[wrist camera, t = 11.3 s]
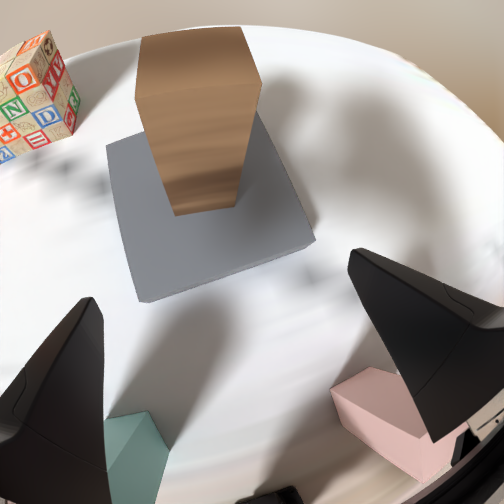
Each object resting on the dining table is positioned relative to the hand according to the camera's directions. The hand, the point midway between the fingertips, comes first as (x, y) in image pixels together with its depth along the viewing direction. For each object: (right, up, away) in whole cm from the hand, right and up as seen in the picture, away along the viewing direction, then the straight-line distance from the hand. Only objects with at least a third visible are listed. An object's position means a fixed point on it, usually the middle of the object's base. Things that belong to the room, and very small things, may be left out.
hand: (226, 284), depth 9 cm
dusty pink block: (+11, -13, +13) cm, 21 cm away
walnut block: (-3, +6, +12) cm, 14 cm away
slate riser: (-4, +6, +15) cm, 16 cm away
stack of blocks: (-30, +15, +13) cm, 36 cm away
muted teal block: (-9, -15, +9) cm, 20 cm away
